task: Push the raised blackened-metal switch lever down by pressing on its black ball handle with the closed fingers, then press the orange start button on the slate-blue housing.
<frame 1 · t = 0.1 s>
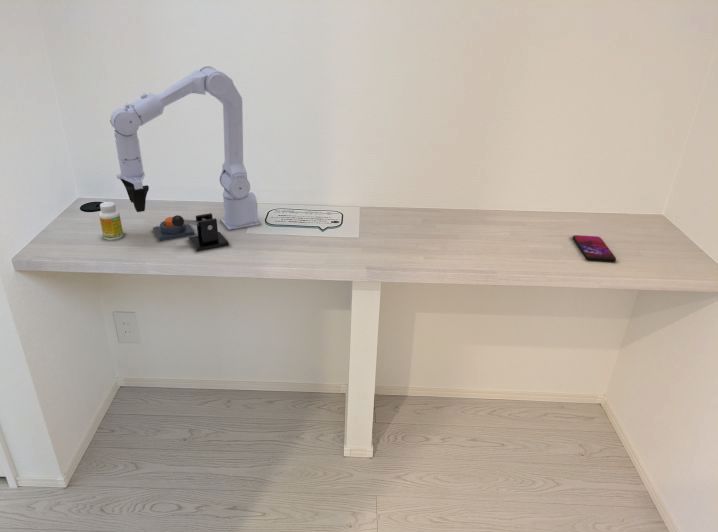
hand: (137, 206, 156), 10 cm above the table, tool pointing down, fingers open, 7 cm apart
start button: (172, 222, 164), point 3 cm above the table, slide at 0.1 cm
supplement bottle: (113, 237, 164), on the table
switch bracket: (208, 243, 160), on the table
button box: (173, 233, 166), on the table
smartphone: (592, 249, 160), on the table
switch lever: (192, 222, 155), point 7 cm above the table, hinge at 15.0°
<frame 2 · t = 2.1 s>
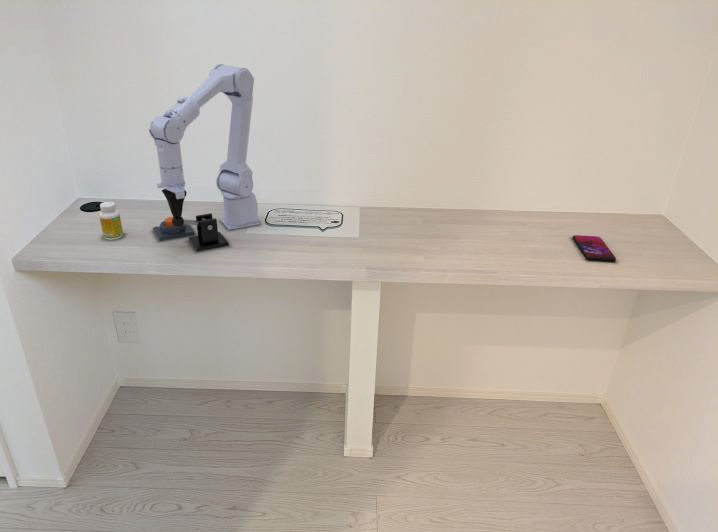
hand: (177, 215, 152), 10 cm above the table, tool pointing down, fingers closed, pressing on switch lever
switch lever: (192, 222, 155), point 7 cm above the table, hinge at 14.9°, touching gripper
everything else where it was.
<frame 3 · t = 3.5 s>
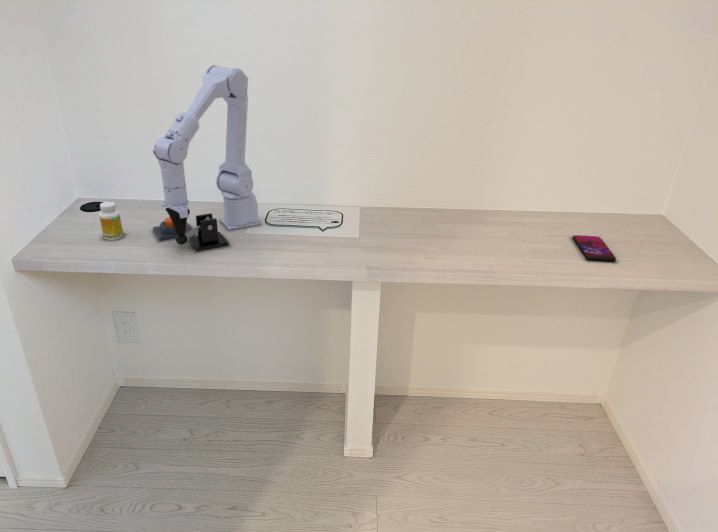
hand: (180, 233, 155), 4 cm above the table, tool pointing down, fingers closed, pressing on switch lever
switch lever: (193, 231, 156), point 4 cm above the table, hinge at -23.0°, touching gripper
everything else where it was.
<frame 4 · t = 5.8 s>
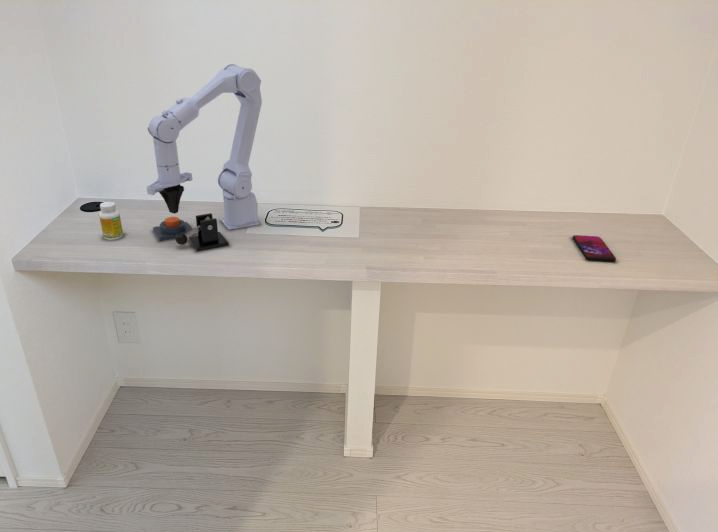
hand: (173, 212, 158), 8 cm above the table, tool pointing down, fingers closed
switch lever: (193, 231, 156), point 4 cm above the table, hinge at -23.2°
everything else where it was.
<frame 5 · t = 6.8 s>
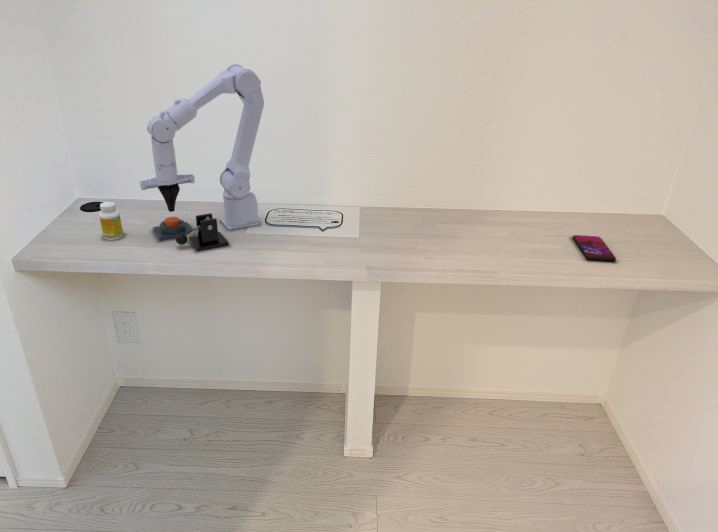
hand: (171, 210, 161), 7 cm above the table, tool pointing down, fingers closed
nothing on the table moved.
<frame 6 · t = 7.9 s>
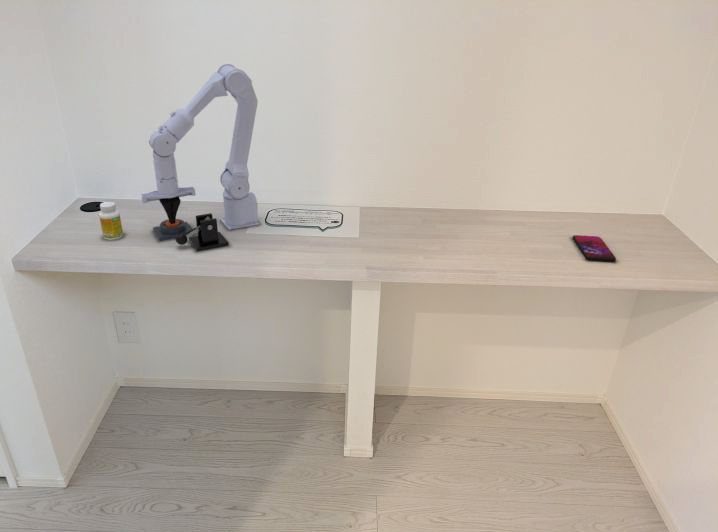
hand: (172, 222, 164), 3 cm above the table, tool pointing down, fingers closed, pressing on start button
start button: (172, 225, 165), point 3 cm above the table, slide at -0.8 cm, touching gripper
everything else where it was.
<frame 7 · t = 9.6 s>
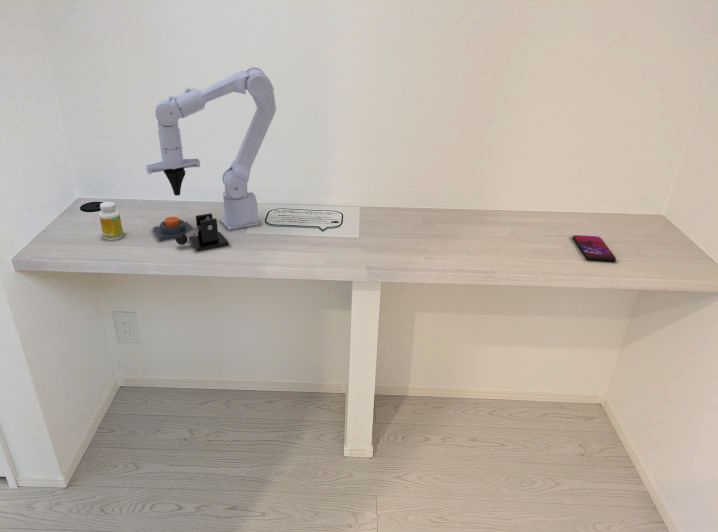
hand: (176, 194, 164), 10 cm above the table, tool pointing down, fingers closed
start button: (172, 222, 164), point 3 cm above the table, slide at 0.1 cm
everything else where it was.
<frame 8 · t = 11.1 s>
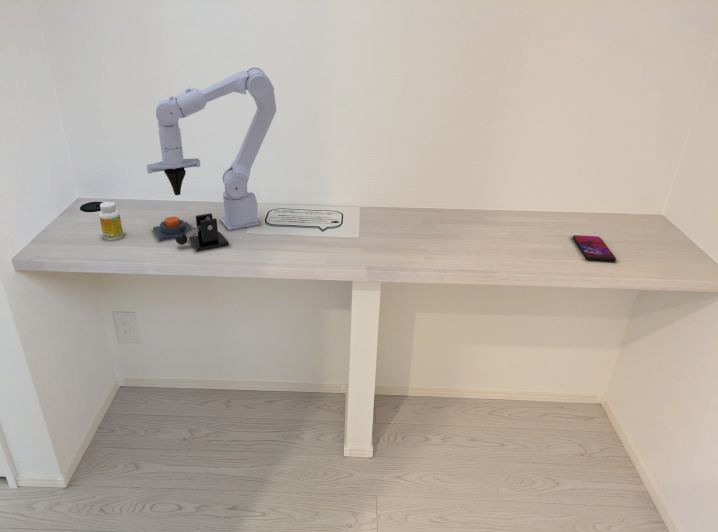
hand: (177, 194, 164), 10 cm above the table, tool pointing down, fingers closed
nothing on the table moved.
at the end: switch lever at -23° (first picture: +15°); start button pushed in 1.0 cm at the most during the clip, back to where it started at the end; start button slide at 0.1 cm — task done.
